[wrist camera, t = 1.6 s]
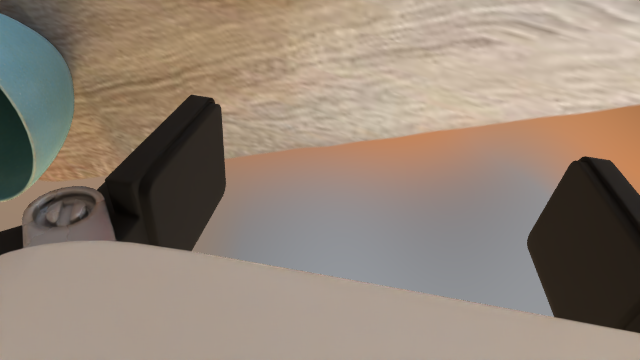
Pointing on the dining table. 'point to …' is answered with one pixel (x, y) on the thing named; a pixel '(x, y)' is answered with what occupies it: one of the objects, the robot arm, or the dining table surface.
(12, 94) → the green bowl
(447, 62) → the dining table surface
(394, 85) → the dining table surface
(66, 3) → the dining table surface
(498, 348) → the robot arm
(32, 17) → the dining table surface
